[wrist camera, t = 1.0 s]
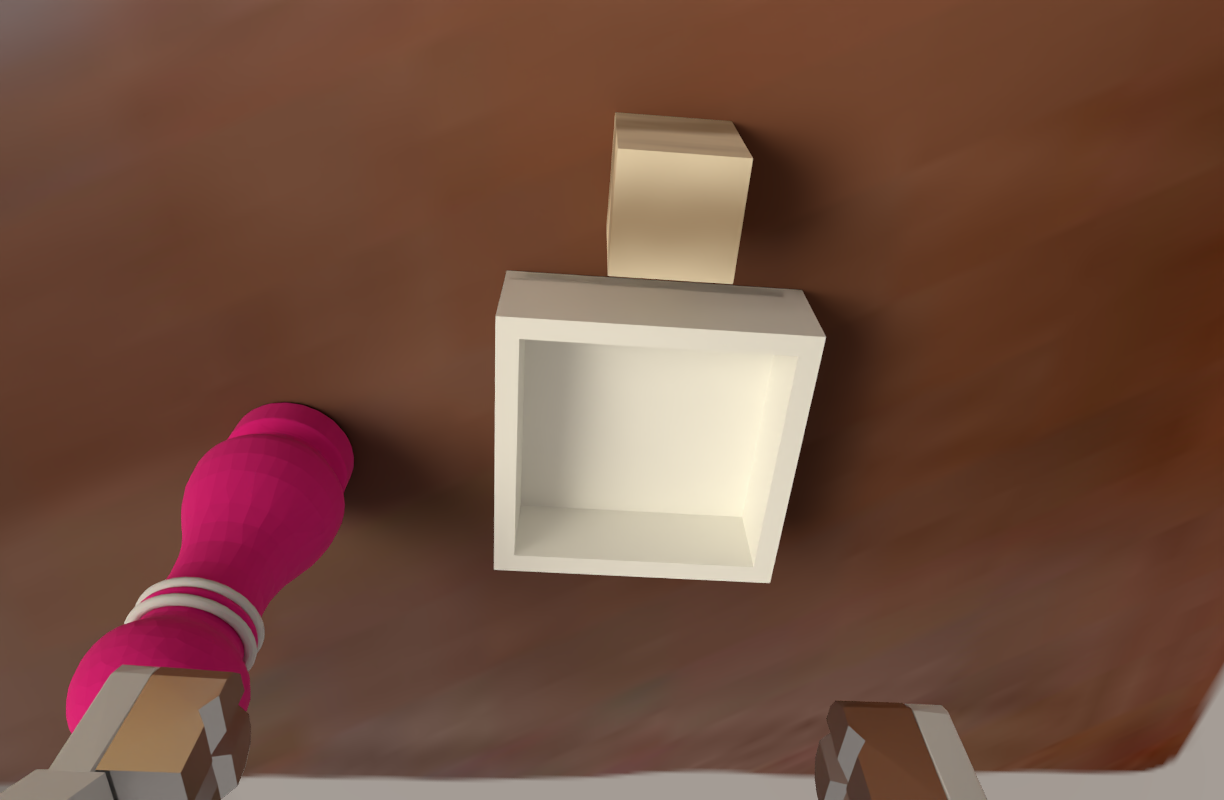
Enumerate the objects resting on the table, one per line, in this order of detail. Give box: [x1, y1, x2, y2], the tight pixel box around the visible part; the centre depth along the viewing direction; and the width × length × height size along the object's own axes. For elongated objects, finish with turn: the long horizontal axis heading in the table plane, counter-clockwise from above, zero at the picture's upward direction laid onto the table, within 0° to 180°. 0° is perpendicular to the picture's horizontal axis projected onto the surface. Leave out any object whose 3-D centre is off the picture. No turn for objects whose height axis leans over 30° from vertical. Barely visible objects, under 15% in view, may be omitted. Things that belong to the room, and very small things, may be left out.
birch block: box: [607, 112, 753, 284], centre depth 35 cm, size 5×5×6 cm
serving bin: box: [494, 271, 826, 583], centre depth 41 cm, size 14×14×5 cm
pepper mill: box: [66, 403, 354, 734], centre depth 36 cm, size 7×7×20 cm
